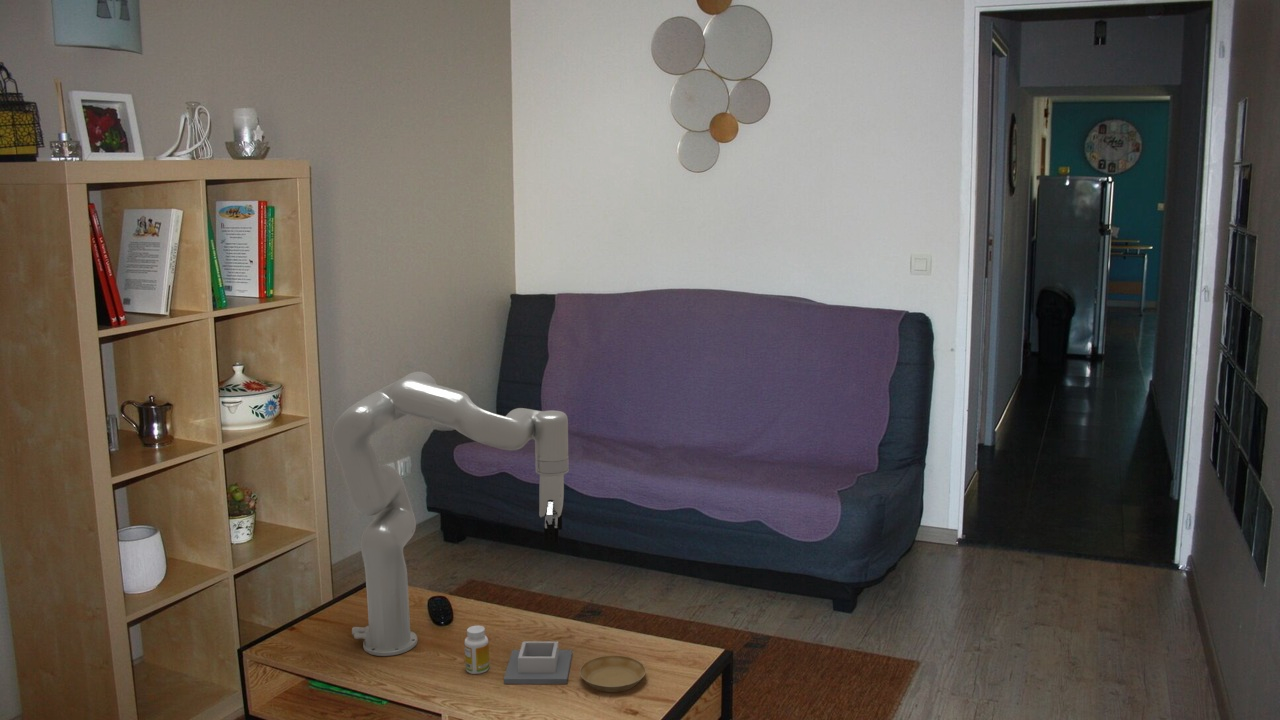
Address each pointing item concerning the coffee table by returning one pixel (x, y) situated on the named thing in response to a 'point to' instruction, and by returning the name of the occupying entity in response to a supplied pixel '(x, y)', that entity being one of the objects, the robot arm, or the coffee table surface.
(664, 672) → the coffee table surface
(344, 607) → the coffee table surface
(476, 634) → the supplement bottle
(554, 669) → the bottle holder
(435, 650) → the coffee table surface
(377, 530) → the robot arm
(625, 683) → the plant saucer
